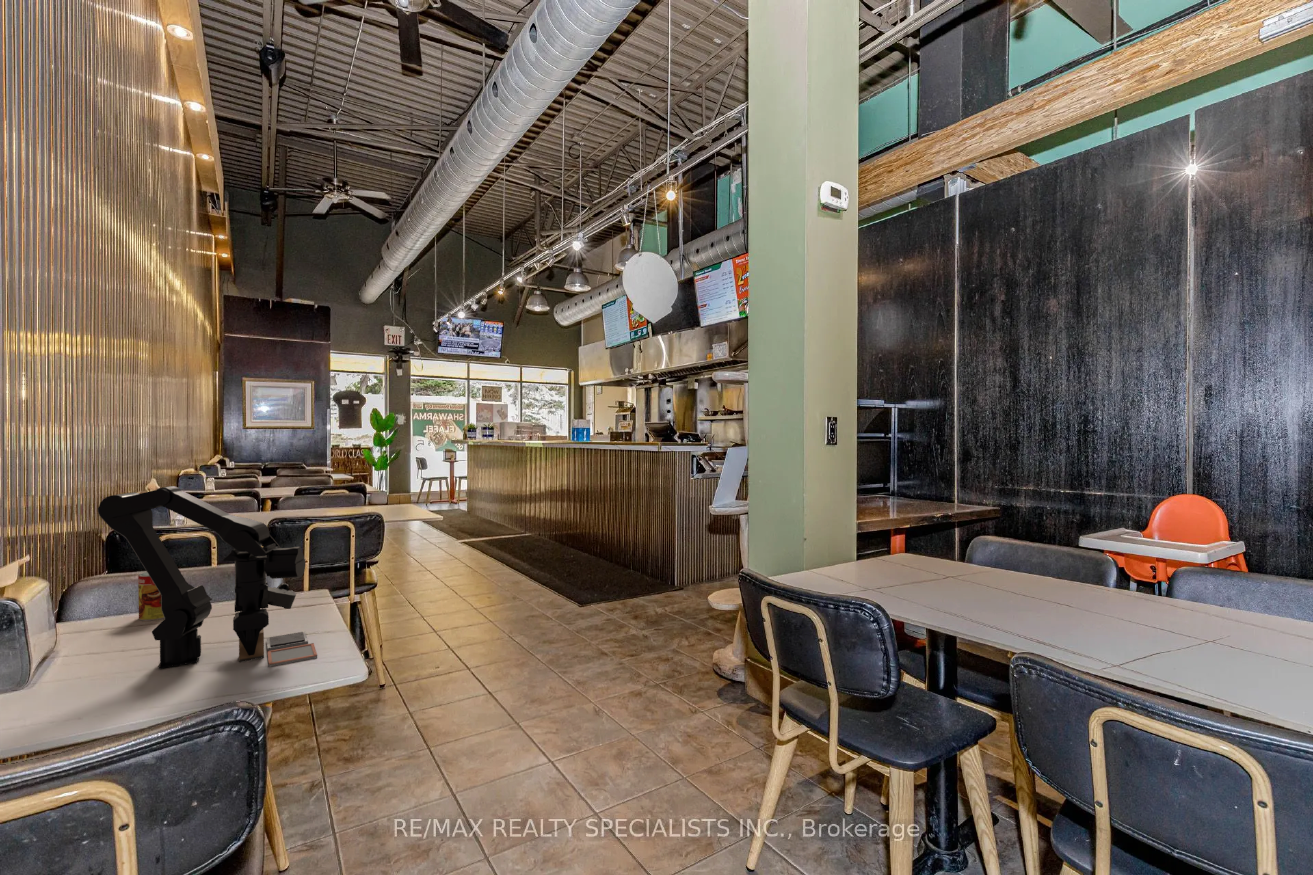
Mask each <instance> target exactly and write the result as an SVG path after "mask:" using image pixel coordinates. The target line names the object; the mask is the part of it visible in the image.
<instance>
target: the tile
mask: <svg viewBox="0 0 1313 875" xmlns="http://www.w3.org/2000/svg"><path fill="white" fill-rule="evenodd" d="M317 658H318V653H317V650H316V646H315V643H314V642H311V643H308V644H305V645H300V646H294V647H288V648H283V649H277V650H271V651H267V661H268V667H274V666H280V665H284V664H291V663H295V662H301V661H306V660H311V659H317Z"/></svg>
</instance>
